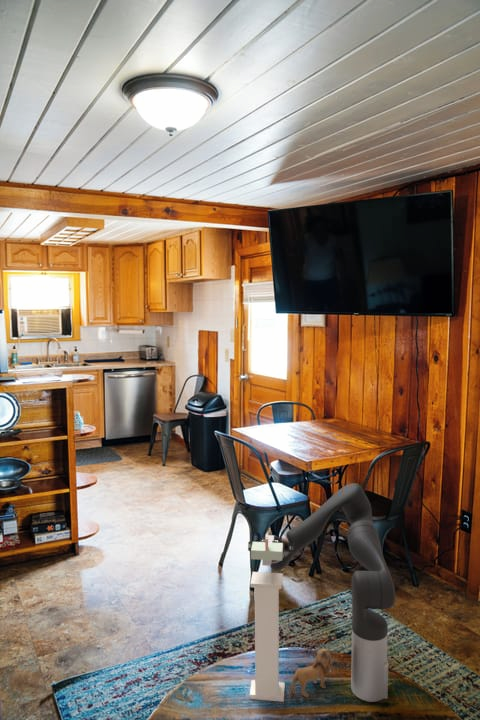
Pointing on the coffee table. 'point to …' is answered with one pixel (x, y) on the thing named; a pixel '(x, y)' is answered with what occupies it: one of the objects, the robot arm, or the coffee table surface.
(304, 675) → the lion figurine
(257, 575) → the stand
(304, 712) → the coffee table surface
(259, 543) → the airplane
